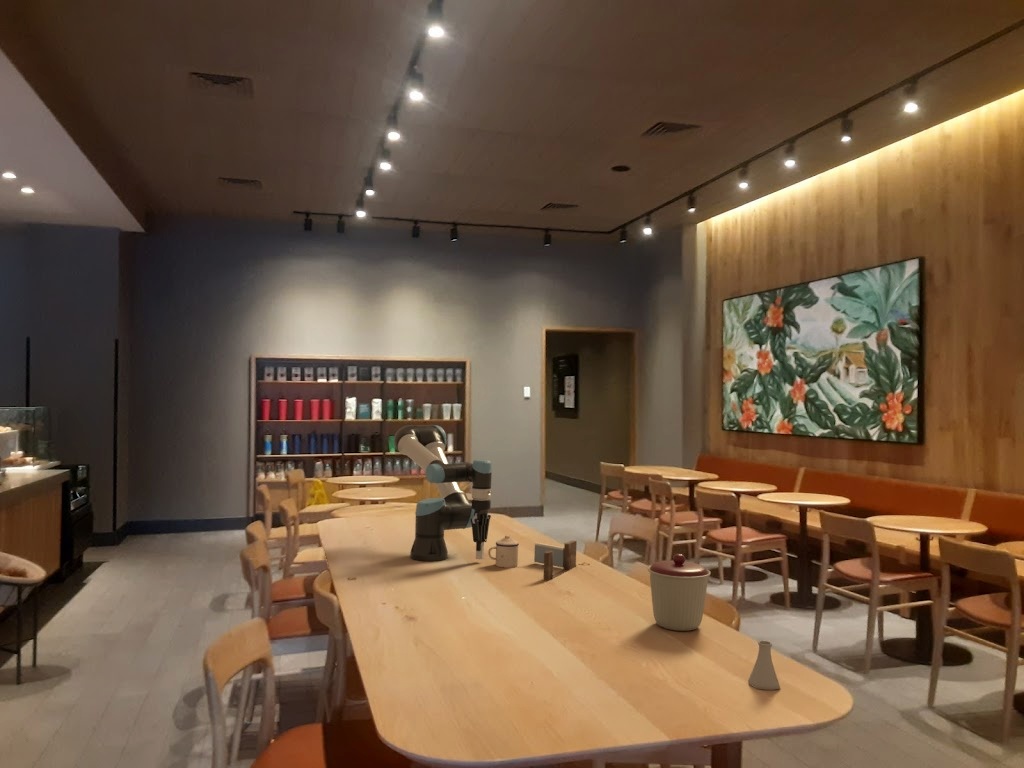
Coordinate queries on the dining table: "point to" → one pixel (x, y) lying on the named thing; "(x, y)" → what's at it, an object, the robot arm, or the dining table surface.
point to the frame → (568, 561)
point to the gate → (557, 551)
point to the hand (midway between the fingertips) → (479, 558)
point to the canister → (678, 593)
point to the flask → (764, 669)
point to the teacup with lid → (506, 552)
